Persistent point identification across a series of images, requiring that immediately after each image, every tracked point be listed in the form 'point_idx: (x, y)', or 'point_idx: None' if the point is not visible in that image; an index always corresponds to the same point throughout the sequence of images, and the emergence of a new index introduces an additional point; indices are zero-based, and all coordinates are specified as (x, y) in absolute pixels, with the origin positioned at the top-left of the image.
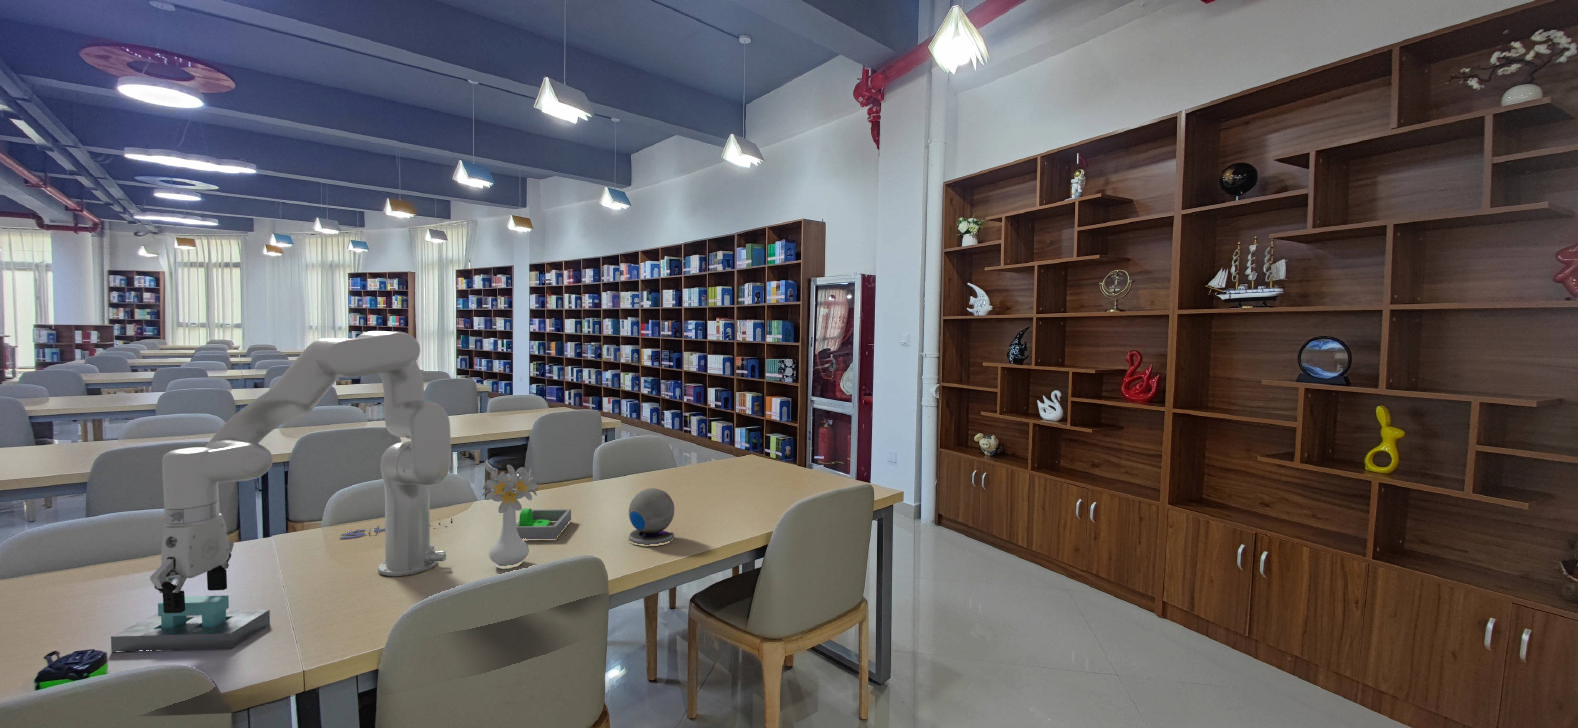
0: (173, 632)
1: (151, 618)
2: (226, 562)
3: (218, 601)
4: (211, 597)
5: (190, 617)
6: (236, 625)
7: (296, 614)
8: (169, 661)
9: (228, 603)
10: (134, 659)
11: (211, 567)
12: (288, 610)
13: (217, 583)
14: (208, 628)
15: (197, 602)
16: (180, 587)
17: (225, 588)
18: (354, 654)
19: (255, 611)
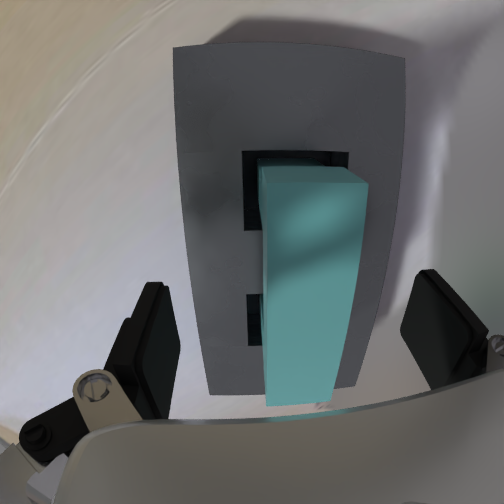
0: (370, 266)
1: (252, 388)
2: (84, 408)
3: (349, 181)
4: (294, 258)
5: (245, 306)
6: (337, 74)
7: (109, 34)
8: (427, 193)
9: (265, 170)
10: (395, 287)
11: (371, 419)
12: (78, 89)
13: (166, 333)
14: (356, 168)
15: (355, 278)
16: (495, 354)
17: (158, 282)
18: None
19: (191, 93)
